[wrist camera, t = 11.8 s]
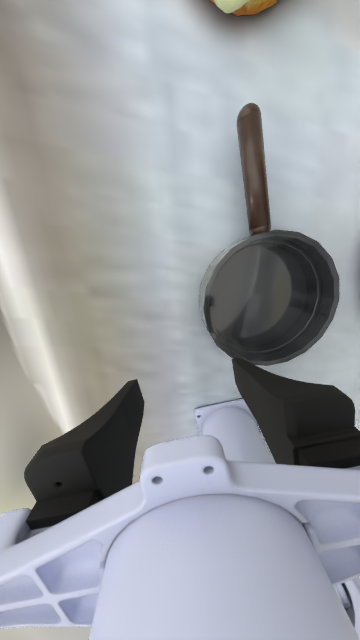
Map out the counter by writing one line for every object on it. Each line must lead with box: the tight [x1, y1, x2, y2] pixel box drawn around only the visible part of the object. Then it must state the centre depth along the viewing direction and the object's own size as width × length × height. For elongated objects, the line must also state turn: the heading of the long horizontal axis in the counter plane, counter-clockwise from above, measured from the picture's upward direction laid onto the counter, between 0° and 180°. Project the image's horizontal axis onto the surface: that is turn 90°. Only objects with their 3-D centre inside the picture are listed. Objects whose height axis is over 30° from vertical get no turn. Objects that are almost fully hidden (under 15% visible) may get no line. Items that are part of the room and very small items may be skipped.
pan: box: [199, 230, 339, 366], centre depth 20 cm, size 13×13×4 cm
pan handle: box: [237, 103, 271, 236], centre depth 16 cm, size 10×2×2 cm, turn 13°
